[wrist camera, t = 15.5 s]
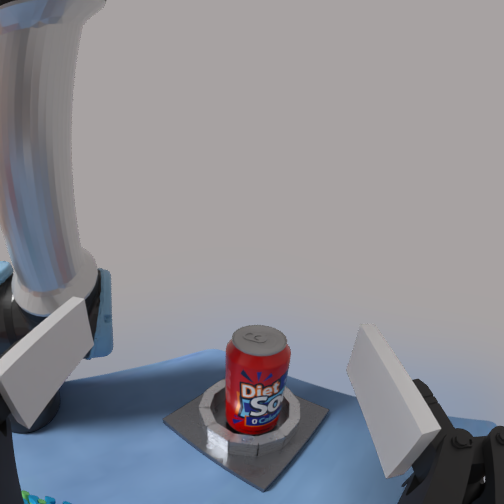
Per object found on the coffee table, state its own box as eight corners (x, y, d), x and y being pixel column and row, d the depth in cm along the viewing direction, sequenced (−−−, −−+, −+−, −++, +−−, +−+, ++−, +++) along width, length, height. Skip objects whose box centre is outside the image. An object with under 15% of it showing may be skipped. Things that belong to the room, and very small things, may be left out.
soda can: (238, 395, 41) (243, 316, 37) (285, 409, 38) (300, 330, 34) (215, 426, 34) (213, 344, 30) (267, 445, 31) (281, 364, 27)
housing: (163, 422, 34) (159, 405, 33) (239, 372, 48) (240, 355, 47) (263, 492, 24) (266, 479, 23) (327, 413, 38) (333, 396, 37)
